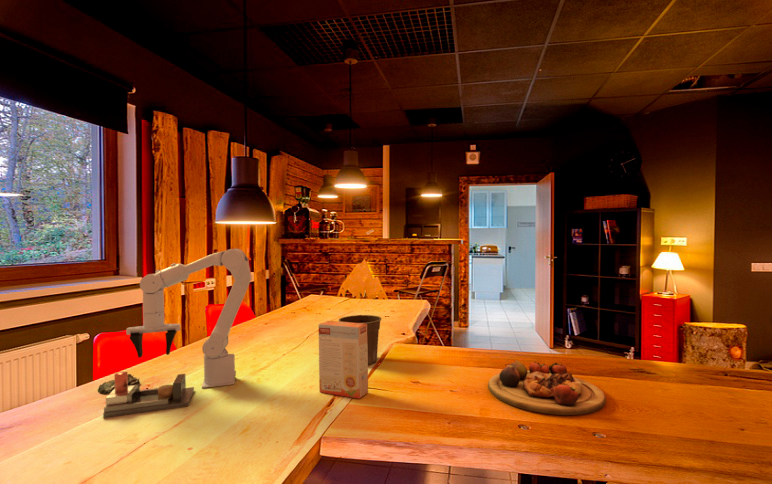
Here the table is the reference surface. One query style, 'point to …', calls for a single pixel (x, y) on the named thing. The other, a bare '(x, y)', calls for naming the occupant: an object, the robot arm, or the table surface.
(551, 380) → the wooden plate with food
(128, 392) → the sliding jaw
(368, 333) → the plant pot
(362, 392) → the cracker box
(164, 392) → the tan rounded lump
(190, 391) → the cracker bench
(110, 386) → the log
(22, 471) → the table surface
